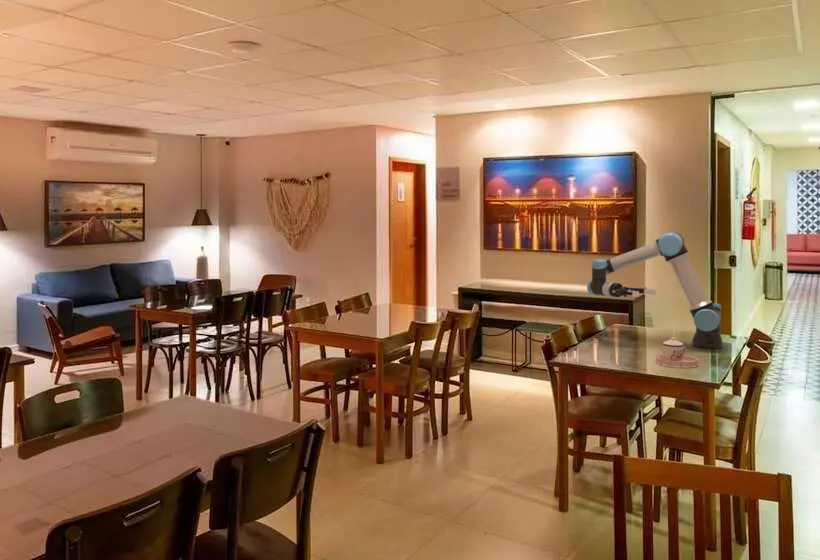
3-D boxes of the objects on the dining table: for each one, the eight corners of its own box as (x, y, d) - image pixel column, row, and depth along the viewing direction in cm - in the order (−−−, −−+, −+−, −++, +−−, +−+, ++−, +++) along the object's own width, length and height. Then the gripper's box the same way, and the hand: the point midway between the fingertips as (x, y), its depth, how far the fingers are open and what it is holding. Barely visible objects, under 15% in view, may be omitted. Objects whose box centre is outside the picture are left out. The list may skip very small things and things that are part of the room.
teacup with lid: (671, 365, 307) (672, 340, 306) (657, 361, 315) (658, 336, 314) (692, 363, 311) (693, 338, 310) (678, 359, 320) (679, 335, 318)
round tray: (671, 358, 326) (671, 352, 326) (705, 364, 311) (705, 359, 311) (648, 362, 316) (648, 356, 316) (682, 369, 301) (682, 363, 301)
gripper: (628, 295, 365) (661, 298, 348) (597, 298, 351) (630, 302, 334) (628, 281, 364) (662, 284, 347) (597, 284, 351) (631, 287, 333)
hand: (647, 293), depth 340 cm, fingers open, 13 cm apart
